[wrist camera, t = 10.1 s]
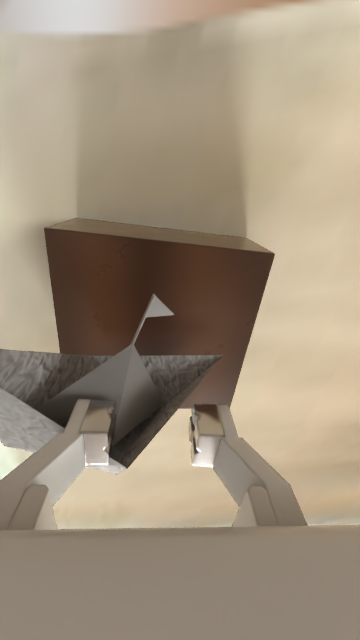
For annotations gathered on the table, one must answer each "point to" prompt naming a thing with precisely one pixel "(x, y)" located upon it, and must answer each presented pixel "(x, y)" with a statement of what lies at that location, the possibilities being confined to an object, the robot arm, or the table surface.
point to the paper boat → (96, 393)
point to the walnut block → (157, 295)
